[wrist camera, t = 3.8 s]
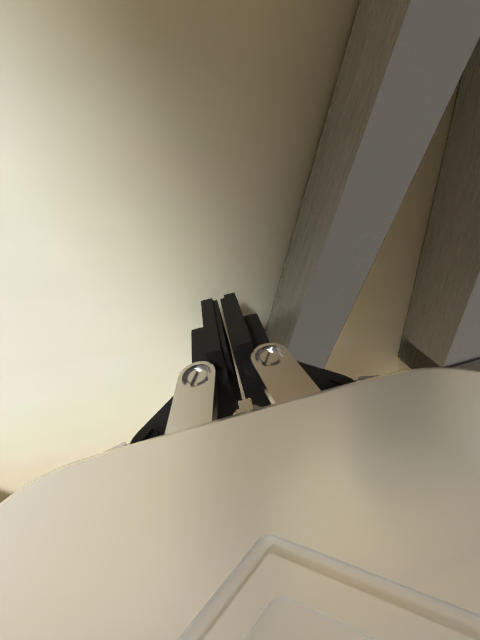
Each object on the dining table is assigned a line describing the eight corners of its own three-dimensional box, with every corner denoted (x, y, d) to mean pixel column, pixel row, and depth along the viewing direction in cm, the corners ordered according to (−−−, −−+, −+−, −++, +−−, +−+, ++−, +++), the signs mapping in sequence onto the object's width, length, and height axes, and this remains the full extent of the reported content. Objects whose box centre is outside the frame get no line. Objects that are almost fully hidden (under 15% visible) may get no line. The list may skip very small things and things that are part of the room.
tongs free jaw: (421, -272, 6) (606, -620, 3) (504, -204, 6) (710, -444, 4) (246, 380, 17) (256, 420, 14) (284, 380, 17) (301, 418, 15)
